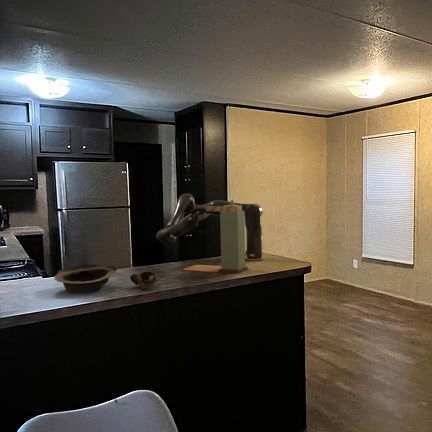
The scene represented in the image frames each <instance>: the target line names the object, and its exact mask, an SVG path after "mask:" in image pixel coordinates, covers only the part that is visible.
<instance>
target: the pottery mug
mask: <svg viewBox="0 0 432 432" xmlns="http://www.w3.org/2000/svg"><path fill="white" fill-rule="evenodd" d="M151 276H153V277H152V278H151V279H150V277H151ZM129 279H130V281H131V282H132V283H133V284H134V286H136V287H137V286H139V289H140V290H142V291H143V290H144V289H145V288H148V287H152V286H154V284H155V283H157V282H158V279H157V276H156V273H155V272H154V271H151V270H143V271H140V272H139V273H138V274H137V273H132V274H131V275H130V277H129Z"/></svg>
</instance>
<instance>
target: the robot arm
mask: <svg viewBox="0 0 432 432" xmlns="http://www.w3.org/2000/svg"><path fill="white" fill-rule="evenodd" d="M226 205H231V201H229V200H220V199H214V200H211V201H209V202H207V203H205V204H195V199H194V196H193V195H192V194H191V193H183V194H181V195H179V197H178V199H177V202H176V205H175V208H174V210H173V212H172V214H171V216H170V218H169V219H168V221H167V223H166V225H165V227H164V228H162V229H160V230H159V231H157V233H156V235H155V236H156V237H155V238H156V239H157V241H158V242H160V243H161V244H162V245H163V246H164V247H165V248H171V247H173V246H174V245H175V243H176V240H177V238H180V237H182V236H183V235H185V234H187V233H189V232H191V231H192V230H193V229H195V228H197V227H198V226H199V222H200V221H202V220H205V219H206V218H208V217H209V216H219V217H220V212H223V211H207V210H206V208H204V207H206V206H216V207H223V206H226ZM233 205H242V211H244V214H245V246H246V249H245V257H246V261H249V262H250V261H251V262H259V261H262V260H263V228H262V227H263V226H262V224H261V217H262V215H263V213H264V209H263V207H262V206H261V205H260V204H259V203H239V202H234V201H233ZM186 214H187V215H186ZM185 215H186V216H185Z"/></svg>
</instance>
